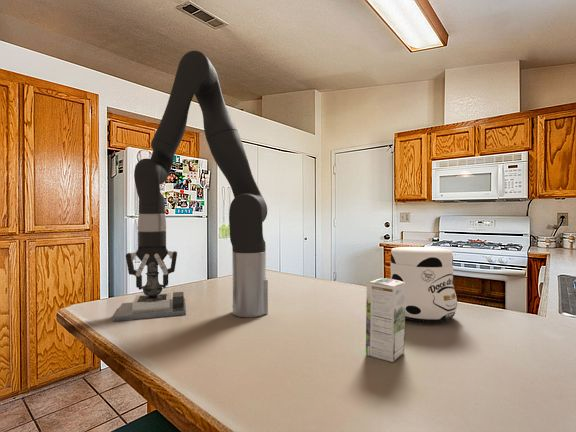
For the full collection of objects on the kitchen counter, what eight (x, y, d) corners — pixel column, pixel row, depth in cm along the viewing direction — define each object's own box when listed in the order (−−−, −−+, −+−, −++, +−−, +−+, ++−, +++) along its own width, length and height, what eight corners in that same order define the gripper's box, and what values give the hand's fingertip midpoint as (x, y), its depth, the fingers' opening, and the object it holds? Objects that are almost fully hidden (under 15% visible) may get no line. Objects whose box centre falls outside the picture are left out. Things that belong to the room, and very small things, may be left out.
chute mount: (185, 302, 107) (185, 288, 107) (185, 314, 93) (185, 299, 93) (122, 307, 101) (122, 293, 101) (113, 321, 88) (113, 305, 88)
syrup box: (377, 346, 71) (377, 277, 70) (405, 353, 67) (405, 280, 67) (365, 355, 66) (365, 281, 66) (394, 363, 62) (394, 285, 62)
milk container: (462, 330, 80) (462, 254, 80) (385, 323, 85) (385, 252, 85) (452, 310, 96) (452, 247, 96) (388, 305, 102) (388, 245, 102)
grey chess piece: (155, 302, 94) (155, 258, 94) (137, 300, 95) (136, 258, 95) (167, 296, 100) (167, 256, 100) (149, 295, 101) (149, 255, 101)
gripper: (178, 228, 103) (178, 284, 103) (126, 229, 99) (127, 287, 99) (178, 230, 96) (178, 289, 96) (122, 230, 91) (122, 293, 92)
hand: (152, 288), depth 97 cm, fingers closed on grey chess piece, 6 cm apart
